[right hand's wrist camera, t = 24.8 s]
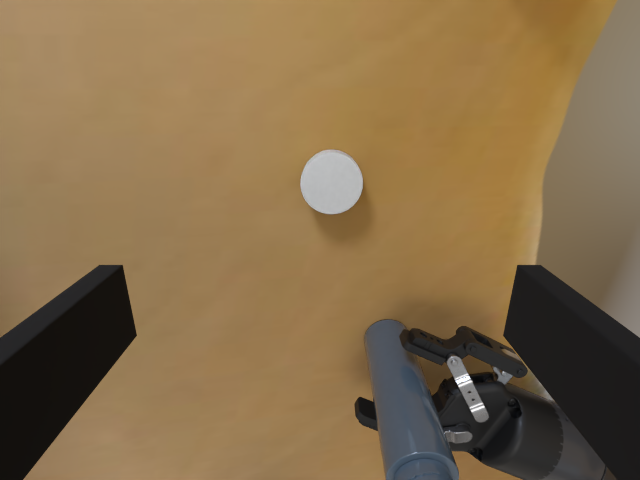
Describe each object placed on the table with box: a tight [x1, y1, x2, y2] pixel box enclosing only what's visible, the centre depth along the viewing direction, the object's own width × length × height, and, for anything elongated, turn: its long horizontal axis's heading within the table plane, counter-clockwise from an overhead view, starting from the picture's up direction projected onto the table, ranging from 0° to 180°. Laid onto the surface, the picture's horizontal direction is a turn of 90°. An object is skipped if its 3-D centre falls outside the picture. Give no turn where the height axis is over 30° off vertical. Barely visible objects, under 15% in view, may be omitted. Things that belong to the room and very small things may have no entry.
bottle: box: [364, 320, 459, 480], centre depth 31 cm, size 5×5×18 cm
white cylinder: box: [300, 150, 363, 214], centre depth 32 cm, size 5×5×2 cm
